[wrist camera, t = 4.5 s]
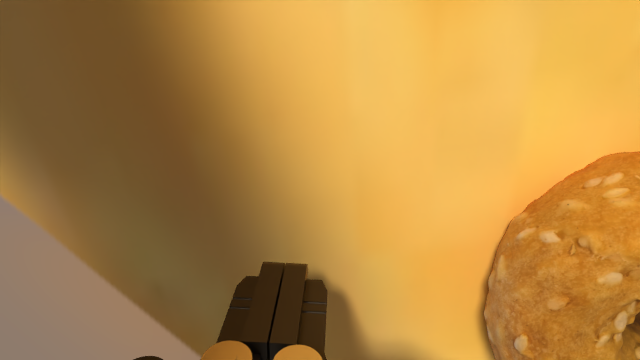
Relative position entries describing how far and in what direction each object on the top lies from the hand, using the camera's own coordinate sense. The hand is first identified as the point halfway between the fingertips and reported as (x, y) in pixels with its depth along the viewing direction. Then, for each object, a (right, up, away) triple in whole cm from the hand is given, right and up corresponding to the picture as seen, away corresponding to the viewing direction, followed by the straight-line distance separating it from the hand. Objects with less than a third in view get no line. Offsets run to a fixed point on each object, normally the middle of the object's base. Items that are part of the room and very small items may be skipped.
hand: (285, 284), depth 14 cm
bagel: (+12, +1, +1) cm, 12 cm away
